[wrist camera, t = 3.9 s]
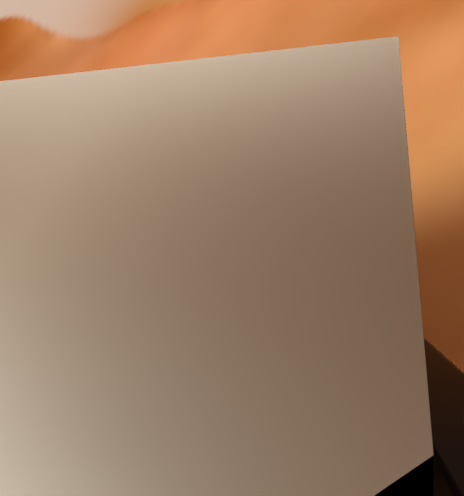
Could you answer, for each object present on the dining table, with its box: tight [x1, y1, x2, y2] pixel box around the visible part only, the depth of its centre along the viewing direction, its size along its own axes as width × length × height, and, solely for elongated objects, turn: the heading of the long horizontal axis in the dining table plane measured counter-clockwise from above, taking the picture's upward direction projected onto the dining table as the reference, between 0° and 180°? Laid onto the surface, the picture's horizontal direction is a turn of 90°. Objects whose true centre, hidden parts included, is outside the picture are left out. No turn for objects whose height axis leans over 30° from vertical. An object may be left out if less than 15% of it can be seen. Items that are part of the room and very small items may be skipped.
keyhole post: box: [0, 36, 434, 496], centre depth 9 cm, size 6×6×13 cm
